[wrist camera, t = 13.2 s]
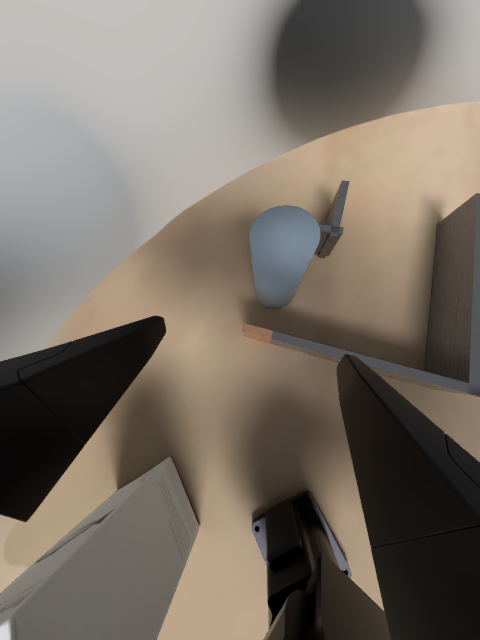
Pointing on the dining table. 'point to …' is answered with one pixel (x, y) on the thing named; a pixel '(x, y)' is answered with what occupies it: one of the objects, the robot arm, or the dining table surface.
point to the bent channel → (445, 309)
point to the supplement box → (108, 568)
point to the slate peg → (281, 252)
